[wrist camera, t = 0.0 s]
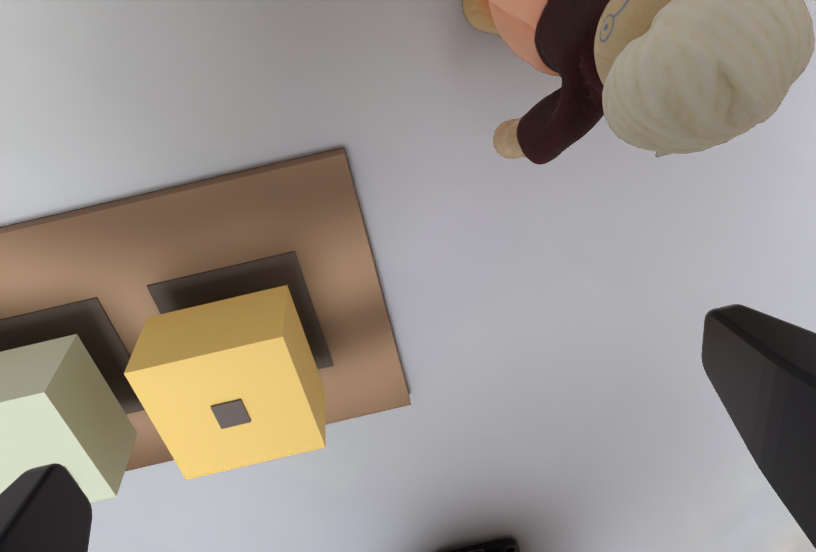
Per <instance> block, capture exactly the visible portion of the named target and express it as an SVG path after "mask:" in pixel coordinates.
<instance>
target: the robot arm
mask: <svg viewBox="0 0 816 552" xmlns="http://www.w3.org/2000/svg"><path fill="white" fill-rule="evenodd" d="M702 363H703V367H704V369H705V372H706V374H707V376H708V378H709V379H710V381H711V383H712V385H713V387H714V388H715V390H716V392H717V394H718V396H719V397H720V399H721V401H722V403H723V405H724V407H725V408H726V410H727V412H728V414H729V416H730V417H731V419H732V421H733V423H734V425H735V426H736V428H737V430H738V432H739V434H740V435H741V437H742V439H743V441H744V443H745V444H746V446H747V448H748V450H749V452H750V453H751V455H752V457H753V458H754V460H755V462H756V463H757V465H758V467H759V468H760V470H761V471H762V473H763V474H764V476H765V477H766V479H767V480H768V482H769V483H770V485H771V486H772V488H773V489H774V490H775V492H776V493H777V495H778V496H779V498H780V499H781V500H782V502H783V503H784V505H785V506H786V507H787V509H788V510H789V512H790V513H791V515H792V516H793V517H794V519H795V520H796V522H797V523H798V524H799V526H800V527H801V529H802V530H803V532H804V533H805V534H806V536H807V537H808V539H809V540H810V541H811V543H812V544H813V546H814V547H815V548H816V333H814V332H811V331H809V330H806V329H804V328H801V327H798V326H796V325H793V324H791V323H788V322H785V321H783V320H780V319H777V318H775V317H772V316H770V315H767V314H764V313H762V312H759V311H756V310H754V309H751V308H749V307H746V306H743V305H739V304H733V305H729V306H724V307H720V308H716V309H712V310H710V311H709V312H708V313H707V314H706V316H705V320H704V332H703V344H702ZM91 522H92V508H91V504H90V502H89V499H88V498H87V496H86V495H85V494H84V492H83V491H82V489H81V488H80V487H79V485H78V484H77V483H76V481H75V480H74V479H73V477H72V476H71V474H70V473H69V472H68V470H67V469H66V468H65V467H64V466H62V465H60V464H55V463H53V464H49V465H44V466H40V467H36V468H32V469H29V470H27V471H25V472H24V473H23V474H21V475H20V476H19V477H18V478H17V479H16V480H15V481H14V482H13V483H12V484H11V485H9V486H8V487H7V488H6V489H5V490H4V491H3V492H2V493H1V494H0V552H88V544H89V537H90V529H91ZM453 552H520V551H519V546H518V543H517V541H516V540H515V539H512V538H509V539H504V540H500V541H495V542H491V543H487V544H482V545H478V546H474V547H470V548H465V549H461V550H457V551H453Z"/></svg>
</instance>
